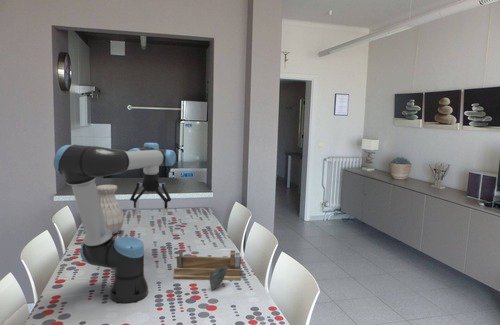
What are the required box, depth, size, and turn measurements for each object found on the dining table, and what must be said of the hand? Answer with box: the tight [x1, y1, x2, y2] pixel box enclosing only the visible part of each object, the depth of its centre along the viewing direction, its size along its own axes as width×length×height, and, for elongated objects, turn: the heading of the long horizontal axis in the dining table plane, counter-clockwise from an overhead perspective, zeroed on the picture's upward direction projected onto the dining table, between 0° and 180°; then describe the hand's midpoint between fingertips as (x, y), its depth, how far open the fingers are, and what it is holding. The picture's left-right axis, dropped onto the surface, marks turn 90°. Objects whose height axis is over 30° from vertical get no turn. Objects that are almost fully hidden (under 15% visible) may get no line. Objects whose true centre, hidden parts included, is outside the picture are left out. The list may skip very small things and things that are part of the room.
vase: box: [96, 184, 125, 235], centre depth 236 cm, size 20×20×30 cm
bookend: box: [178, 250, 184, 268], centre depth 179 cm, size 5×3×9 cm, turn 1°
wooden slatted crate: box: [173, 250, 242, 281], centre depth 180 cm, size 12×31×11 cm, turn 91°
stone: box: [208, 266, 228, 291], centre depth 167 cm, size 11×4×10 cm, turn 141°
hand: (150, 214), depth 193 cm, fingers open, 13 cm apart
